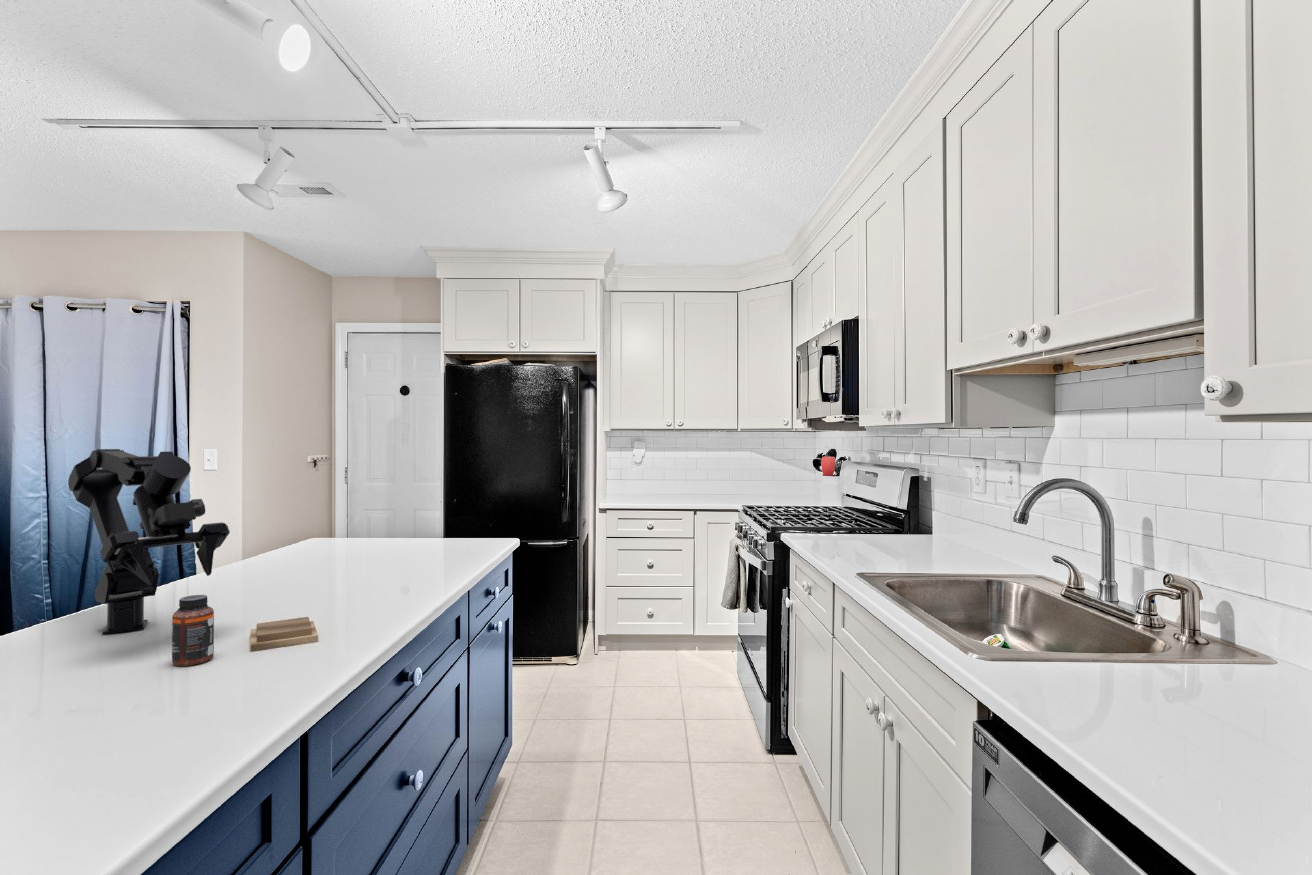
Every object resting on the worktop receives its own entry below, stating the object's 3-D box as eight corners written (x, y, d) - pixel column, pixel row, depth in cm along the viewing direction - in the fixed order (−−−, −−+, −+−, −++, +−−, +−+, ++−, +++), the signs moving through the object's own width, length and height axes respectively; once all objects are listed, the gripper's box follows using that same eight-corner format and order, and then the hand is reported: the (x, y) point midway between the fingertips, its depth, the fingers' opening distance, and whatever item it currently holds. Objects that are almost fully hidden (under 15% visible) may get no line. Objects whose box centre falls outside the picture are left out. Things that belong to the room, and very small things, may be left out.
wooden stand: (250, 635, 125) (250, 622, 125) (313, 626, 131) (313, 614, 131) (250, 651, 115) (250, 638, 115) (318, 641, 121) (318, 628, 121)
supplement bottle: (221, 657, 112) (222, 594, 112) (187, 669, 106) (188, 602, 106) (198, 653, 114) (199, 591, 114) (163, 664, 108) (164, 599, 108)
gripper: (110, 488, 109) (133, 563, 104) (228, 482, 125) (253, 547, 120) (91, 525, 114) (112, 598, 109) (207, 514, 130) (230, 578, 125)
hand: (181, 578), depth 115 cm, fingers open, 9 cm apart
